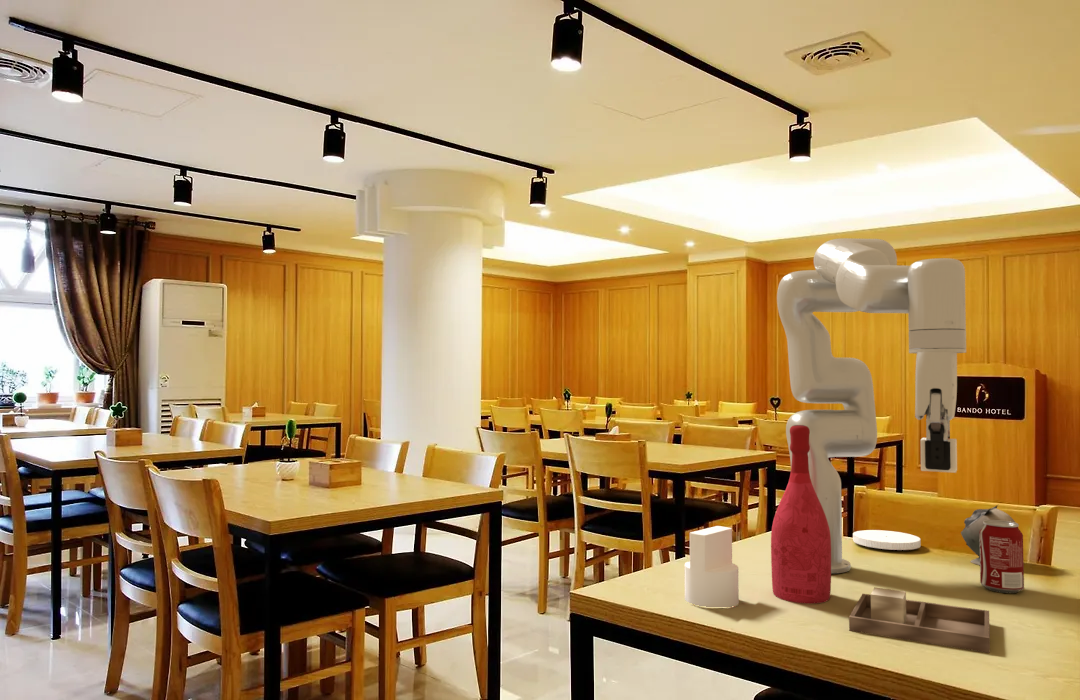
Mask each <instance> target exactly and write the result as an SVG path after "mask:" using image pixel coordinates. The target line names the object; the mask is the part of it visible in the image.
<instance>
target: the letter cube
mask: <svg viewBox="0 0 1080 700" xmlns="http://www.w3.org/2000/svg"><path fill="white" fill-rule="evenodd" d="M957 440H958V439H957V438H951V437H950V438H948V442H950V464H951V467H950V469H949V470H936V469H927V468H926V467H925V441H926V437H922V438H921V439H920V441H919V442H920V443H919V444H920V471H921V472H936V473H937V472H939V473H954V474H957V471H958V448H957V447H958V445H957V444H958V441H957Z"/></svg>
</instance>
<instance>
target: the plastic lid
mask: <svg viewBox="0 0 1080 700" xmlns="http://www.w3.org/2000/svg"><path fill="white" fill-rule="evenodd" d="M852 541H853V542H854V543H855V544H857V545H860V546H865V547H868V548H874V549H880V550H881V549H882V550H893V551H895V550H897V551H902V550H903V551H909V550H910V551H911V550H918V549H919V548H921V543H922V542H921V538H920V537H919V536H917V535H913V534H910V533H907V532H901V531H893V530H881V529H866V530H857V531H854V532H853V533H852Z"/></svg>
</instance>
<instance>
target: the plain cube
mask: <svg viewBox="0 0 1080 700" xmlns="http://www.w3.org/2000/svg"><path fill="white" fill-rule="evenodd" d="M870 595H871V619H875V620H881V621H888V622H895V623H901V624H905V623H906V600H907V592H906V591H904V590H898V589H890V588H881V587H874V588H873V589H872V591H871V593H870Z"/></svg>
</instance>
